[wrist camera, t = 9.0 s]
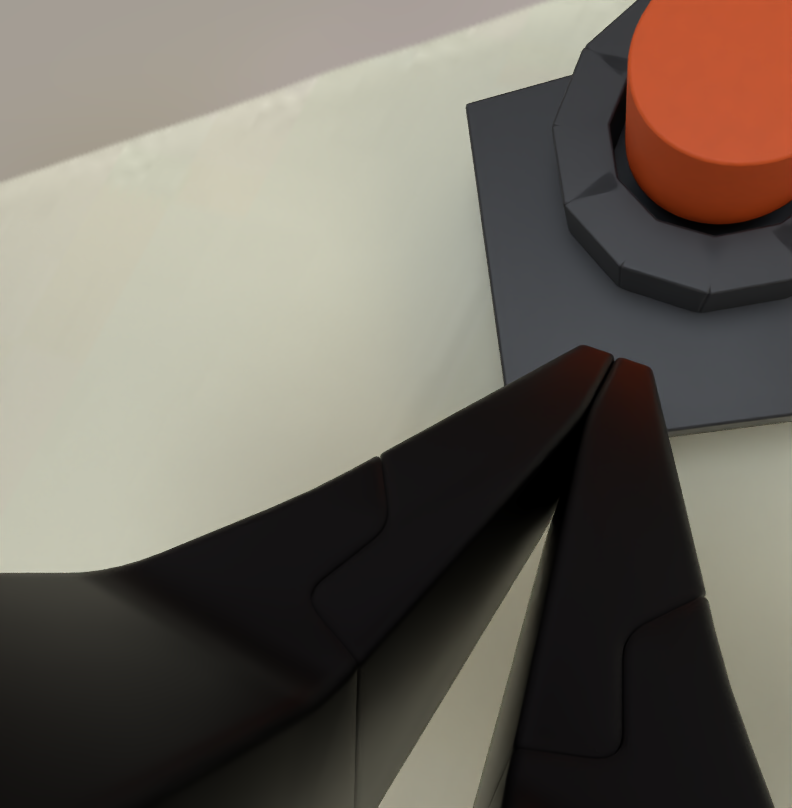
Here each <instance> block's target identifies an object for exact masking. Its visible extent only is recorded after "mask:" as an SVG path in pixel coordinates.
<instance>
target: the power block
mask: <svg viewBox="0 0 792 808" xmlns="http://www.w3.org/2000/svg"><path fill="white" fill-rule="evenodd" d="M650 1H651V0H637V1H636V2H635V3H633V4H632V5H631V6H630V7H629V8H628V9H627V10H625V11H624V12H623V13H622V14H621V15H620V16H619V17H618V18H616V19H615V20H614V21H613V22H612V23H611V24H610V25H608V26H607V27H606V28H605V29H604V30H603V31H602V32H600V33H599V34H598V35H597V36H596V37H595V38H594V39H593V40H591V41H590V42H589V43H588V44H587V45H586V47H585V48H584V49H583V50H582V52H581V55H580V57H579V60H578V62H577V64H576V67H575V69H574V72H573V74H572V75H570V76H566V77H562V78H559V79H555V80H552V81H548V82H544V83H541V84H537V85H534V86H530V87H526V88H523V89H519V90H516V91H512V92H508V93H505V94H501V95H497V96H494V97H490V98H487V99H483V100H479V101H476V102H472V103H469V104H467V105H466V113H467V120H468V127H469V135H470V142H471V149H472V156H473V163H474V171H475V178H476V185H477V192H478V200H479V207H480V214H481V221H482V228H483V236H484V243H485V250H486V257H487V264H488V272H489V279H490V286H491V293H492V301H493V308H494V315H495V322H496V329H497V337H498V344H499V351H500V358H501V365H502V373H503V380H504V386H506V385H508V384H509V383H511V382H513V381H515V380H517V379H519V378H520V377H522V376H524V375H526V374H528V373H529V372H531V371H533V370H535V369H537V368H539V367H540V366H542V365H544V364H546V363H548V362H550V361H551V360H553V359H555V358H557V357H559V356H561V355H562V354H564V353H566V352H568V351H570V350H571V349H573V348H575V347H577V346H579V345H587V346H590V347H593V348H596V349H599V350H602V351H605V352H608V353H610V354H612V355H613V356H614V361H615V360H616V359H617V358H621V357H622V358H626V359H628V360H631V361H634V362H637V363H640V364H643V365H646V366H649V367H650V368H651V369H652V370H653V373H654V377H655V381H656V386H657V390H658V394H659V398H660V402H661V407H662V411H663V415H664V419H665V423H666V428H667V432H668V436H669V437H675V436H682V435H690V434H698V433H706V432H714V431H722V430H729V429H737V428H745V427H753V426H761V425H769V424H776V423H784V422H792V201H790V202H789V203H787V204H786V205H784V206H783V207H781V208H779V209H777V210H775V211H773V212H771V213H769V214H767V215H764V216H762V217H759V218H756V219H752V220H749V221H745V222H739V223H732V224H707V223H699V222H695V221H690V220H687V219H684V218H681V217H678V216H676V215H674V214H672V213H670V212H668V211H666V210H664V209H663V208H661V207H660V206H659V205H657V204H656V203H655V202H653V201H652V200H651V199H650V198H649V197H648V196H647V195H646V194H645V193H644V191H643V190H642V189H641V188H640V187H639V185H638V183H637V182H636V180H635V178H634V177H633V174H632V172H631V169H630V167H629V164H628V160H627V156H626V147H625V130H626V96H627V66H628V54H629V49H630V43H631V40H632V37H633V34H634V31H635V28H636V26H637V24H638V22H639V20H640V18H641V16H642V14H643V12H644V11H645V9H646V8H647V6H648V4H649V3H650Z"/></svg>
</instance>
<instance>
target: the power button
mask: <svg viewBox="0 0 792 808" xmlns="http://www.w3.org/2000/svg"><path fill="white" fill-rule="evenodd" d="M625 147H626V156H627V160H628V164H629V167H630V169H631V172H632V174H633V177H634V178H635V180H636V182H637V183H638V185H639V187H640V188H641V189H642V190H643V191H644V193H645V194H646V195H647V196H648V197H649V198H650V199H651V200H652V201H653V202H655V203H656V204H657V205H659V206H660V207H661V208H663V209H664V210H666V211H668V212H670V213H672V214H674V215H676V216H678V217H681V218H684V219H687V220H690V221H695V222H699V223H707V224H732V223H739V222H745V221H749V220H752V219H756V218H759V217H762V216H764V215H767V214H769V213H771V212H773V211H775V210H777V209H779V208H781V207H783V206H784V205H786V204H787V203H789V202H790V201H792V0H651V1H650V3H649V4H648V6H647V8H646V9H645V11H644V12H643V14H642V16H641V18H640V20H639V22H638V24H637V26H636V28H635V31H634V34H633V37H632V40H631V43H630V49H629V54H628V66H627V96H626V130H625Z"/></svg>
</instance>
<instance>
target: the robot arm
mask: <svg viewBox="0 0 792 808" xmlns="http://www.w3.org/2000/svg"><path fill="white" fill-rule="evenodd" d="M553 514H554V515H553ZM552 516H553V518H552ZM551 518H552V521H551V524H550V528H549V531H548V534H547V537H546V541H545V544H544V548H543V551H542V555H541V559H540V563H539V566H538V570H537V574H536V577H535V581H534V585H533V588H532V592H531V596H530V599H529V603H528V607H527V610H526V614H525V618H524V622H523V625H522V629H521V633H520V636H519V640H518V644H517V647H516V651H515V655H514V658H513V662H512V666H511V669H510V673H509V677H508V681H507V684H506V688H505V692H504V695H503V699H502V703H501V706H500V710H499V714H498V717H497V721H496V725H495V728H494V732H493V736H492V740H491V743H490V747H489V751H488V754H487V758H486V762H485V765H484V769H483V773H482V776H481V780H480V784H479V787H478V791H477V795H476V799H475V802H474V806H473V808H775V807H774V804H773V802H772V799H771V796H770V794H769V791H768V788H767V786H766V783H765V780H764V778H763V775H762V772H761V770H760V767H759V765H758V762H757V759H756V757H755V754H754V751H753V749H752V746H751V743H750V740H749V737H748V735H747V732H746V729H745V726H744V723H743V720H742V717H741V714H740V712H739V709H738V706H737V703H736V700H735V697H734V694H733V692H732V689H731V686H730V682H729V679H728V675H727V671H726V668H725V664H724V661H723V657H722V653H721V650H720V646H719V643H718V639H717V636H716V632H715V627H714V623H713V619H712V615H711V610H710V606H709V602H708V600H707V599H706V598H704V597H705V595H706V591H705V587H704V583H703V578H702V574H701V570H700V566H699V562H698V558H697V553H696V549H695V545H694V541H693V537H692V532H691V528H690V524H689V520H688V516H687V511H686V507H685V503H684V499H683V495H682V490H681V486H680V482H679V478H678V474H677V469H676V465H675V461H674V457H673V453H672V449H671V444H670V440H669V436H668V432H667V428H666V423H665V419H664V415H663V411H662V407H661V402H660V398H659V394H658V390H657V386H656V381H655V377H654V373H653V370H652V369H651V368H650V367H649V366H646V365H643V364H640V363H637V362H634V361H631V360H628V359H626V358H622V357H621V358H617V359H616V360H615V361H614V356H613V355H612V354H610V353H608V352H605V351H602V350H599V349H596V348H593V347H590V346H587V345H579V346H577V347H575V348H573V349H571V350H570V351H568V352H566V353H564V354H562V355H561V356H559V357H557V358H555V359H553V360H551V361H550V362H548V363H546V364H544V365H542V366H540V367H539V368H537V369H535V370H533V371H531V372H529V373H528V374H526V375H524V376H522V377H520V378H519V379H517V380H515V381H513V382H511V383H509V384H508V385H506V386H504V387H502V388H500V389H498V390H497V391H495V392H493V393H491V394H489V395H487V396H486V397H484V398H482V399H480V400H478V401H476V402H475V403H473V404H471V405H469V406H467V407H466V408H464V409H462V410H460V411H458V412H456V413H455V414H453V415H451V416H449V417H447V418H445V419H444V420H442V421H440V422H438V423H436V424H434V425H433V426H431V427H429V428H427V429H425V430H424V431H422V432H420V433H418V434H416V435H414V436H413V437H411V438H409V439H407V440H405V441H403V442H402V443H400V444H398V445H396V446H394V447H392V448H391V449H389V450H387V451H385V452H383V453H382V454H381V456H380V458H379V457H377V456H376V457H374V458H372V459H370V460H368V461H366V462H364V463H363V464H361V465H359V466H357V467H355V468H353V469H352V470H350V471H348V472H346V473H344V474H342V475H340V476H338V477H336V478H334V479H332V480H330V481H328V482H326V483H324V484H322V485H320V486H318V487H316V488H314V489H312V490H310V491H308V492H306V493H303V494H301V495H299V496H296V497H294V498H292V499H290V500H287V501H285V502H283V503H281V504H278V505H276V506H274V507H271V508H269V509H267V510H264V511H262V512H260V513H257V514H255V515H252V516H250V517H247V518H245V519H243V520H240V521H238V522H235V523H233V524H230V525H228V526H225V527H223V528H221V529H218V530H216V531H213V532H211V533H208V534H206V535H203V536H201V537H199V538H196V539H194V540H191V541H189V542H186V543H184V544H181V545H179V546H177V547H174V548H172V549H169V550H167V551H164V552H162V553H159V554H157V555H154V556H151V557H149V558H146V559H143V560H140V561H137V562H133V563H130V564H126V565H123V566H119V567H114V568H109V569H104V570H99V571H90V572H81V573H0V808H377V807H378V806H379V804H380V802H381V801H382V799H383V797H384V796H385V794H386V792H387V791H388V789H389V787H390V786H391V784H392V783H393V781H394V779H395V778H396V776H397V774H398V773H399V771H400V769H401V768H402V766H403V764H404V763H405V761H406V759H407V758H408V756H409V754H410V753H411V751H412V750H413V748H414V746H415V745H416V743H417V741H418V740H419V738H420V736H421V735H422V733H423V731H424V730H425V728H426V726H427V725H428V723H429V721H430V720H431V718H432V717H433V715H434V713H435V712H436V710H437V708H438V707H439V705H440V703H441V702H442V700H443V698H444V697H445V695H446V693H447V692H448V690H449V688H450V687H451V685H452V684H453V682H454V680H455V679H456V677H457V675H458V674H459V672H460V670H461V669H462V667H463V665H464V664H465V662H466V660H467V659H468V657H469V655H470V654H471V652H472V651H473V649H474V647H475V646H476V644H477V642H478V641H479V639H480V637H481V636H482V634H483V632H484V631H485V629H486V627H487V626H488V624H489V622H490V621H491V619H492V618H493V616H494V614H495V613H496V611H497V609H498V608H499V606H500V604H501V603H502V601H503V599H504V598H505V596H506V594H507V593H508V591H509V589H510V588H511V586H512V585H513V583H514V581H515V580H516V578H517V576H518V575H519V573H520V571H521V570H522V568H523V566H524V565H525V563H526V561H527V560H528V558H529V557H530V555H531V553H532V552H533V550H534V548H535V547H536V545H537V543H538V542H539V540H540V538H541V537H542V535H543V533H544V531H545V529H546V528H547V526H548V524H549V522H550V520H551Z"/></svg>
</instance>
